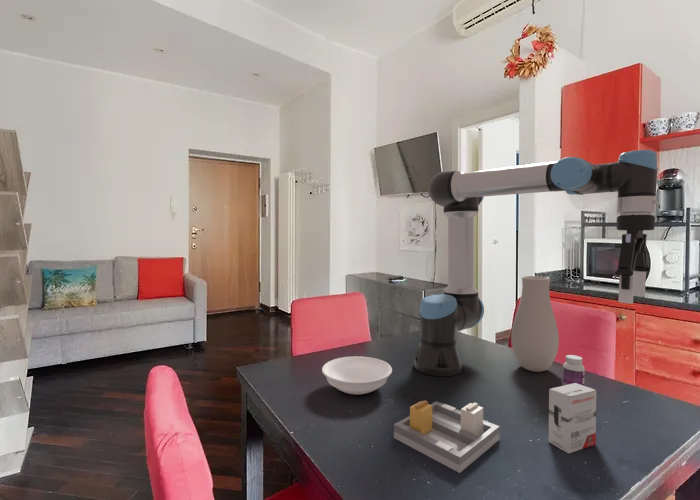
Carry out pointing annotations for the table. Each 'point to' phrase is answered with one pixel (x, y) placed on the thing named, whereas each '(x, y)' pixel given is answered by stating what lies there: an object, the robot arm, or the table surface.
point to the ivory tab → (472, 419)
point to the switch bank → (448, 438)
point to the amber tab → (421, 417)
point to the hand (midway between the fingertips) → (632, 299)
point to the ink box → (572, 417)
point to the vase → (535, 326)
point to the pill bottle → (573, 371)
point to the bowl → (357, 374)
